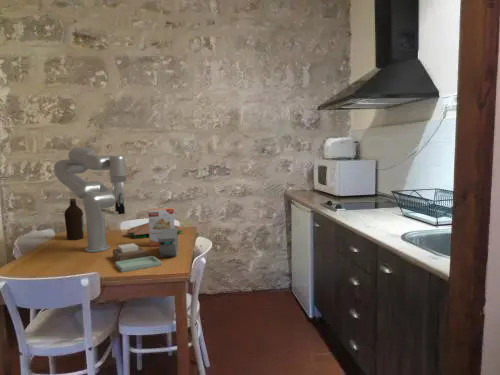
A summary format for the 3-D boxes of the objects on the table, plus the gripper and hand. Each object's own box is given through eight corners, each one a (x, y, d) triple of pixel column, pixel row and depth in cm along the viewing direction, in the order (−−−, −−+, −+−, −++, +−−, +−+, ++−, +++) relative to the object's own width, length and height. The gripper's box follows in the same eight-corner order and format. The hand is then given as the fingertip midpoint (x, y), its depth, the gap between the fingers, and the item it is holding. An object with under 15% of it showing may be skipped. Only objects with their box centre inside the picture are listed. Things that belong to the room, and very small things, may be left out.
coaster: (118, 249, 201) (118, 245, 201) (134, 246, 205) (133, 243, 205) (122, 252, 194) (121, 248, 194) (138, 250, 198) (138, 246, 198)
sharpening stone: (175, 260, 193) (174, 238, 192) (159, 260, 192) (158, 239, 191) (178, 247, 218) (177, 228, 217) (163, 248, 217) (163, 228, 216)
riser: (113, 257, 201) (112, 249, 200) (138, 253, 207) (138, 245, 207) (120, 264, 187) (120, 256, 187) (147, 260, 194) (147, 252, 194)
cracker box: (149, 247, 220) (147, 210, 218) (150, 244, 226) (148, 208, 224) (175, 245, 223) (173, 208, 221) (175, 243, 229) (173, 207, 227)
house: (126, 233, 260) (125, 221, 260) (175, 228, 273) (175, 217, 272) (129, 240, 239) (129, 227, 239) (183, 234, 252) (182, 222, 251)
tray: (115, 265, 185) (115, 261, 185) (153, 259, 195) (152, 255, 195) (122, 272, 175) (121, 268, 175) (161, 265, 185) (161, 261, 184)
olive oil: (67, 241, 239) (65, 200, 237) (64, 238, 248) (61, 198, 246) (86, 238, 245) (83, 198, 243) (82, 235, 254) (80, 197, 252)
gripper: (108, 179, 209) (110, 211, 210) (112, 181, 193) (114, 215, 195) (123, 178, 212) (125, 210, 214) (128, 180, 197) (130, 214, 198)
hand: (120, 212), depth 204 cm, fingers open, 9 cm apart
